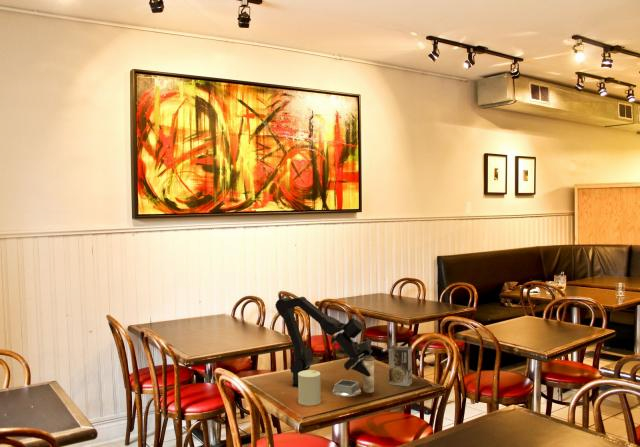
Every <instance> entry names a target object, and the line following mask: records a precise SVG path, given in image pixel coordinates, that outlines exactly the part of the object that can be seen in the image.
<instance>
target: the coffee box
mask: <svg viewBox="0 0 640 447" xmlns="http://www.w3.org/2000/svg"><path fill="white" fill-rule="evenodd" d="M412 350H413V348H412V346H405V345H392V346H391V345H390V347H389V348H388V378H389V380H388V384H389V385H391V386H392V385H393V386H400V387H402V386H403V387H408V388H409V387H410V386H411V385H412V384H413V355H412V353H413V351H412Z"/></svg>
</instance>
